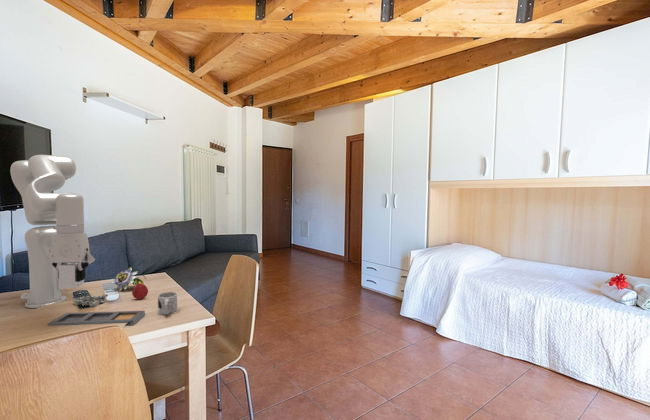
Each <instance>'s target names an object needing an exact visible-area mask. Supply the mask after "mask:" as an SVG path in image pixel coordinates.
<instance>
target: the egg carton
mask: <svg viewBox="0 0 650 420" xmlns="http://www.w3.org/2000/svg"><path fill="white" fill-rule="evenodd" d="M108 297H109V295H108V294H102V295H97V296H96V295H92V296H90V295H86V296H85V295H83V296H80V297H77V298H73V301H75V302H74V305H75V306H79V305H82V307H84V305H85V306H89V307H97V306H99V305H100V304H105V303H107V298H108ZM91 299H92V300H91ZM83 300H84V302H83Z"/></svg>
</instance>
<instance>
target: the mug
mask: <svg viewBox="0 0 650 420" xmlns="http://www.w3.org/2000/svg"><path fill="white" fill-rule="evenodd" d="M177 311H178V293H177V292H174V291H166V292H162V293H159V294H158V295H157V313H158V314H159V315H162V316H164V315H165V316H166V315H173V314H175V313H176V312H177ZM174 312H175V313H174Z"/></svg>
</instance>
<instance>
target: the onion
mask: <svg viewBox="0 0 650 420" xmlns="http://www.w3.org/2000/svg"><path fill="white" fill-rule="evenodd" d="M131 293H132V297H133V298H134V299H136V300H143V299H145V298H146V297H147V295H148V293H149V289H148V287H147V286H146V284H142V283H141V282H139V283H138V285H136V286H134V287H133V288H132V292H131Z"/></svg>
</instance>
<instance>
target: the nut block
mask: <svg viewBox="0 0 650 420" xmlns="http://www.w3.org/2000/svg"><path fill="white" fill-rule="evenodd" d="M78 270H79V269H78V267H77V264H76V263H64V264H61V265H59V288H61V289H77V288H78V287H80V286H83V285H85V279H84V280H82V281H80V282H77V271H78Z"/></svg>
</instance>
